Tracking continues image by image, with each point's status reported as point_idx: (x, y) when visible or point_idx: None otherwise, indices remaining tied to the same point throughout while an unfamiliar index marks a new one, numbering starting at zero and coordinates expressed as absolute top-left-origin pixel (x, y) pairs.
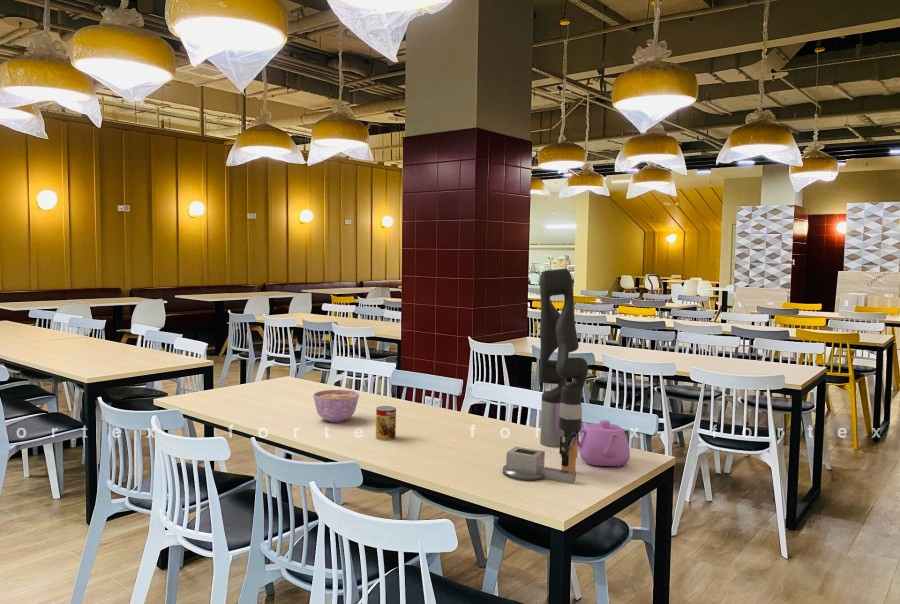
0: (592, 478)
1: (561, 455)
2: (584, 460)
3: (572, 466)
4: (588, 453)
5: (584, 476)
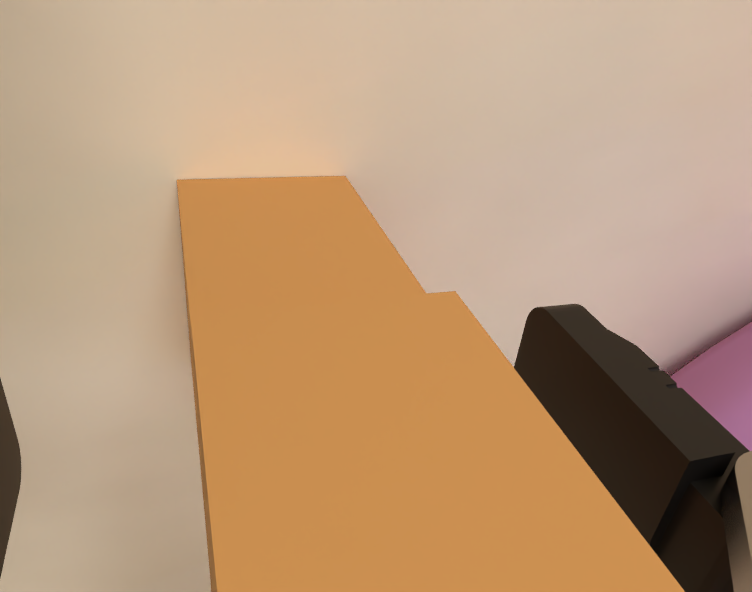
0: (167, 582)
1: (199, 373)
2: (722, 352)
3: (198, 443)
4: None
5: (182, 503)
